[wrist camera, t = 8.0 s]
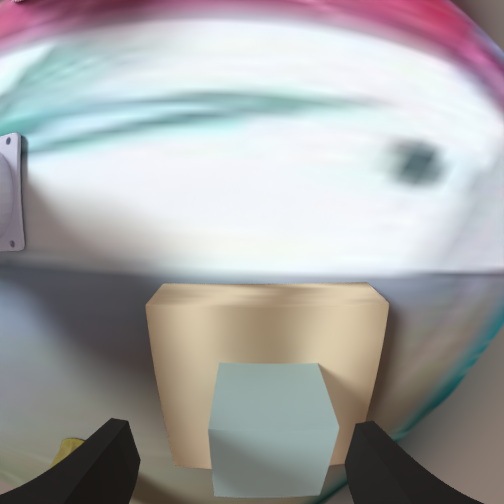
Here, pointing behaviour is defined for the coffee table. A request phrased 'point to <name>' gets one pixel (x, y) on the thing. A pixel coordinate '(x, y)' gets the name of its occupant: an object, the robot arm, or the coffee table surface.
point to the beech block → (262, 349)
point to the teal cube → (270, 430)
